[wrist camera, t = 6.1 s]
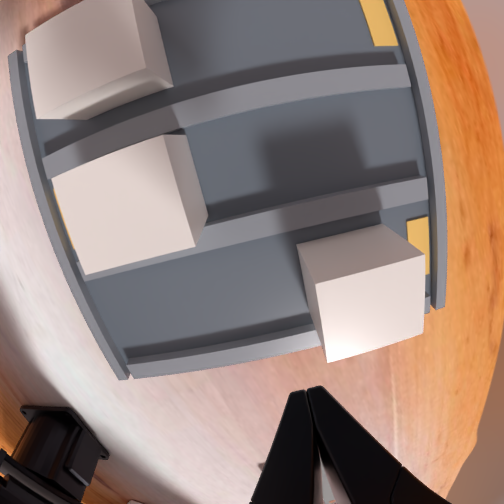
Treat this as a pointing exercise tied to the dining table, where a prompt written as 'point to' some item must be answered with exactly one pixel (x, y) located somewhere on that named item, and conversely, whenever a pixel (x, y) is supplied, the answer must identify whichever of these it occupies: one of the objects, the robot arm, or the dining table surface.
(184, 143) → the beige block
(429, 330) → the dining table surface
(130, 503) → the supplement box
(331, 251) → the white block
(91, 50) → the beige block
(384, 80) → the grey tray
